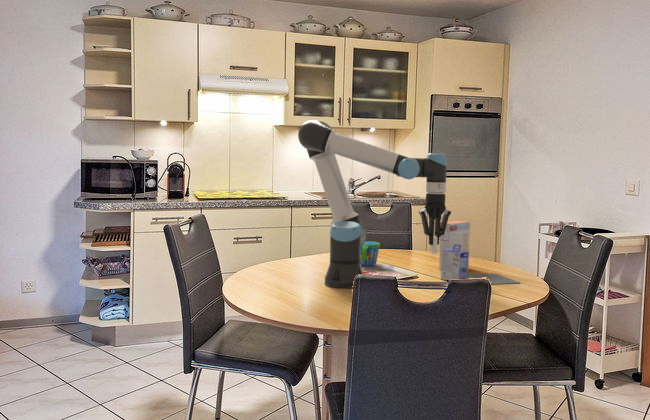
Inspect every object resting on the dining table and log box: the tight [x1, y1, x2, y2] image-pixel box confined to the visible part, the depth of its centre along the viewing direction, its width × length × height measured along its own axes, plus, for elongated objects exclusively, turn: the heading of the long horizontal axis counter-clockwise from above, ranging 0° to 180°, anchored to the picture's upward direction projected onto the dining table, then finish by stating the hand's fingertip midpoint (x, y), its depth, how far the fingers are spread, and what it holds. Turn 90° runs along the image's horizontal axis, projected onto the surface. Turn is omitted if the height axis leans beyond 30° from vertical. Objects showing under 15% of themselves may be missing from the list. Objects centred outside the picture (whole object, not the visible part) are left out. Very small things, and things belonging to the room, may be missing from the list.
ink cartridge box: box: [440, 244, 470, 281], centre depth 236 cm, size 10×6×14 cm, turn 36°
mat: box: [467, 272, 521, 285], centre depth 240 cm, size 20×18×1 cm
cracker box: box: [438, 220, 471, 271], centre depth 260 cm, size 14×6×21 cm, turn 130°
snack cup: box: [360, 240, 381, 267], centre depth 265 cm, size 16×10×10 cm
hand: (433, 252), depth 233 cm, fingers closed
